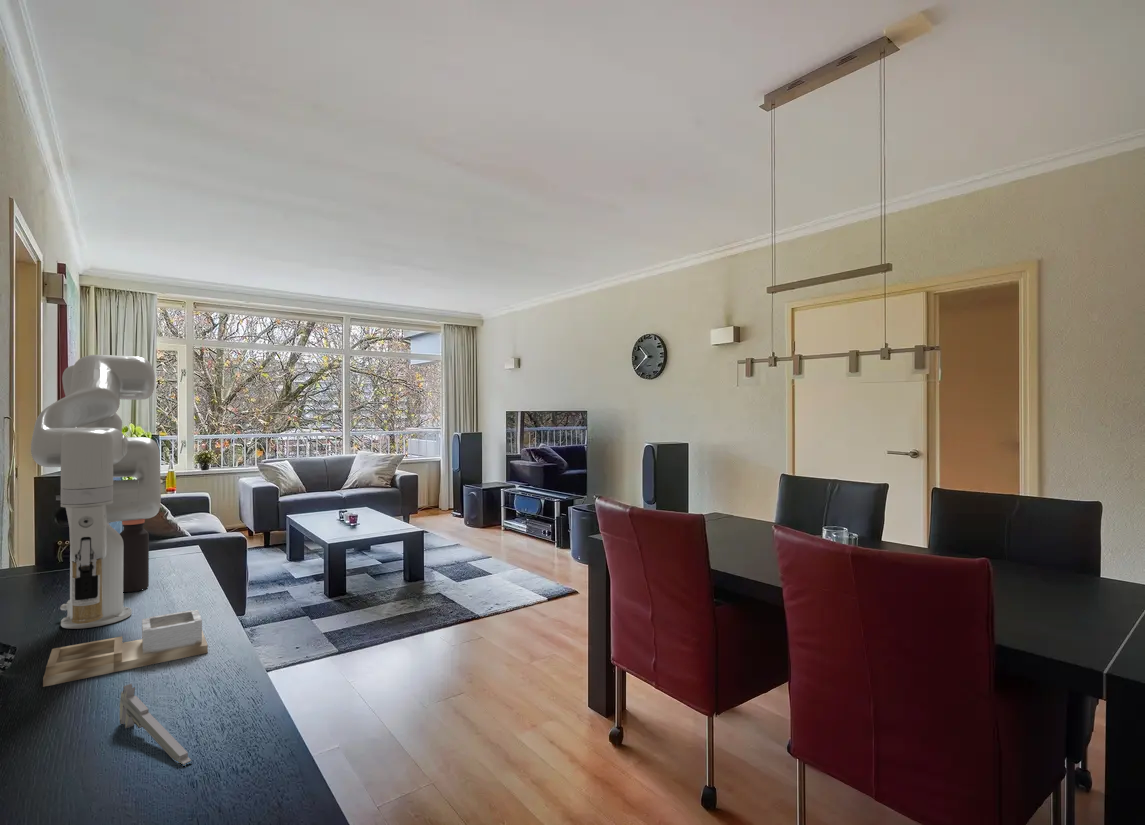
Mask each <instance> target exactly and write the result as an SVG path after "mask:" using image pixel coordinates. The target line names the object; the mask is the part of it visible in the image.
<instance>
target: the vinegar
mask: <svg viewBox="0 0 1145 825" xmlns="http://www.w3.org/2000/svg"><path fill="white" fill-rule="evenodd" d="M145 520H146V519H139V520H128V521H121V526H122V527H123V530H122V531H120V532H119V534H120V535H121V537H122V539H123V545H124V549H123V592H130V593H134V592H133V591H137V592H140V591H139V590H141V591H143V590H142V589H144V590H146V589H145V588H147V587H148V588H149V583H150V580H149V579H150V578H149V577H150V572H149V570H150V568H149V566H150V562H149V561H150V556H149V555H150V549H149V548H150V545H149V544H150V543H149V542H150V539H149V538H150V536H149V535H150V533H149V531H148V530H146V529H145V528H144V525H145ZM148 588H147V589H148Z"/></svg>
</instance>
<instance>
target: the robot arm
mask: <svg viewBox="0 0 1145 825" xmlns="http://www.w3.org/2000/svg"><path fill="white" fill-rule="evenodd" d="M61 378H62V380H61V381H62V389H63V392H64V395H65V396H64V397H62V398H61V399H58V400H57V401H55V402H53V403H51V404H50V405H49V406H46V408H44V409H43V410H42V411H41V412H40V413H39V415H38V416H37V418H36V420H35V423H34V427H33V432H32V437H31V443H30V453H31V457H32V460H33V461H34V463H35V464H37V465H39V466H41V467H44V468H60V507H61V508H65V511H66V516H67V521H68V522H67V523H68V527H69V528H68V529H69V545H70V546H69V547H70V548H69V551H70V552H69V562H70V563H69V599H68V600H67V601H66V603H63V604H61V605H60V606H59V607H60V610H61V611H67V616H65V617H63V618H62V619H61V620H60V627H61V628H63V629H71V630H73V629H75V630H78V629H89V628H90V629H91V628H95V627H96V628H97V627H102V626H106V625H111V624H115V623H117V622H121V621H123V620H125V619H127V618H129V617H130V616H131V615H132V611H133V610H132V608H131V607H128V606H124V593H123V549H124V545H123V539H122V537H121V535H120V532H118V531H117V530H116V529H115V528H114V527H112V526H111V525H110V523H117V522H122V521H128V520H139V519H145V520H146V519H151V518H154V517H155V516H157V514H159V512H160V508H161V505H162V503H161V502H162V498H161V497H162V490H161V488H162V486H161V485H162V484H161V455H160V448H159V446H158V443H157V441H155V440H154V439H152V438H149V437H146V436H145V437H144V436H143V437H142V436H141V437H140V436H134V437H133V436H131V437H130V436H129V437H128V436H125V435H124V433H123V421H122V419H121V417H120V415H118V414H117V411H119V408H120V405H121V400H129V401H130V400H136V401H138V400H148V399H149V398H150V397H151V396H152V395H153V393H154V390H155V379H156V378H155V371H154V368H153V366H152V364H151V362H150V361H149V360H148V359H147V358H144V357H142V356H141V357H140V356H133V355H113V354H111V355H110V354H90V355H85V356H82V357H80V358H79V359H77V361H76V362H75V363H74V364H73V365H70V366H68V367H66V368H65V369H64V371H63V373H62V377H61ZM133 477H134V478H135V479H122V480H119V479H118V480H117V479H114V478H133ZM90 546H91V547H90ZM93 551H94V558H93V559H90V556H93ZM75 554H77V556H75ZM96 556H97V557H101V559H102V591H103V599H102V614H103V617H102V618H101V619H99V620H97V621H93V622H89V623H81V624H77V623H73V622H72V618H73V605H72V576H73V575H72V572H73V571H72V564H73V563H72V561H74V562H76V560H77V562H76V563H77V571H76V578H75V600H83V599H90V598H96V597H97V596H98V575H96V561H97V560H96ZM80 557H81V560H80ZM71 558H72V560H71ZM90 563H92V564H90Z"/></svg>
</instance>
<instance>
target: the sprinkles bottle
mask: <svg viewBox="0 0 1145 825" xmlns="http://www.w3.org/2000/svg"><path fill="white" fill-rule="evenodd" d="M90 547H91V546H90ZM75 556H77V554H75ZM93 558H94V551H93V556H90V559H93ZM71 560H72V558H71ZM80 560H81V557H80ZM96 560H97V561H96V575H98V596H97V597H96V598H90V599H83V600H75V578H76V571H77V563H76V562H77V560H76V562H74V561H72V563H73V564H72V571H73V572H72V575H73V576H72V605H73V618H72V622H73V623H77V624H81V623H89V622H93V621H97V620H99V619H101V618H102V617H103V614H102V599H103V591H102V559H101V557H97V556H96ZM90 564H92V563H90Z"/></svg>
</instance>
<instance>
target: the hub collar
mask: <svg viewBox="0 0 1145 825" xmlns="http://www.w3.org/2000/svg"><path fill="white" fill-rule="evenodd" d="M202 631H203V619H202V616H201V614H200V611H199V609H195V610H192V609H191V610H190V609H189V610H184V611H178V612H172V613H171V612H170V613H166V614H159V615H155V616H149V617H147V618H142V619H141V639H142V649H143V655H144V654H149V653H151V654H154V653H159V652H165V651H170V650H175V649H180V648H185V647H190V646H195V644H200V643H202Z"/></svg>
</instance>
